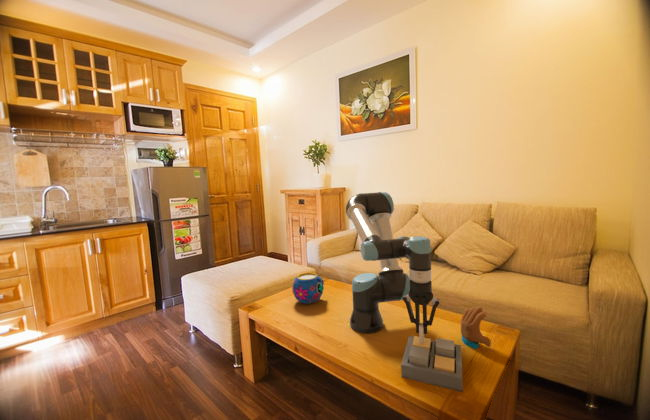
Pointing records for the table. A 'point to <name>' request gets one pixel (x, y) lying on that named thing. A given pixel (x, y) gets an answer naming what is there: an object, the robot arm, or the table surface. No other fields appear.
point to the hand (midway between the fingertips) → (421, 341)
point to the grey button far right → (445, 347)
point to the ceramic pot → (308, 287)
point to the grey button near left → (419, 356)
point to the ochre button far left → (416, 343)
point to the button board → (431, 374)
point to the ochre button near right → (444, 364)
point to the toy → (473, 328)
